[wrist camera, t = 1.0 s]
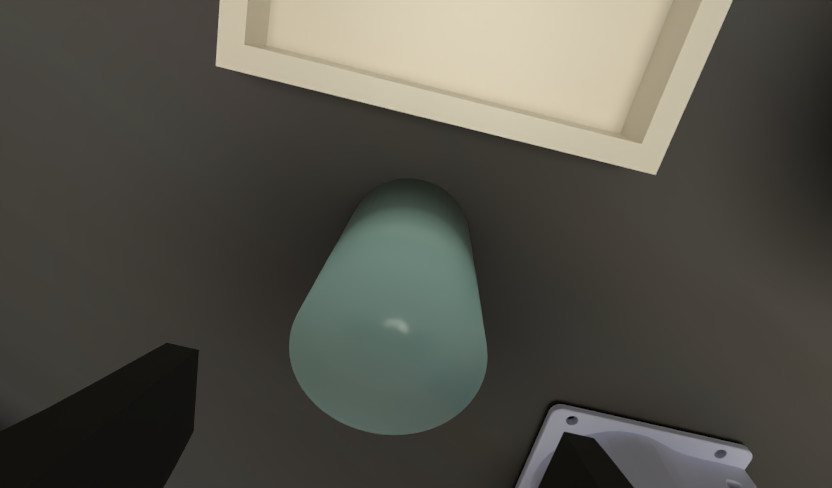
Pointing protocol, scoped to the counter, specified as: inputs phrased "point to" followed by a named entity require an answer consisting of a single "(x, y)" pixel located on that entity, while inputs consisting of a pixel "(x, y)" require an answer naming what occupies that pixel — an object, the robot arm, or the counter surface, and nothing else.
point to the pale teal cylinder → (394, 315)
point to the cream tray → (493, 63)
